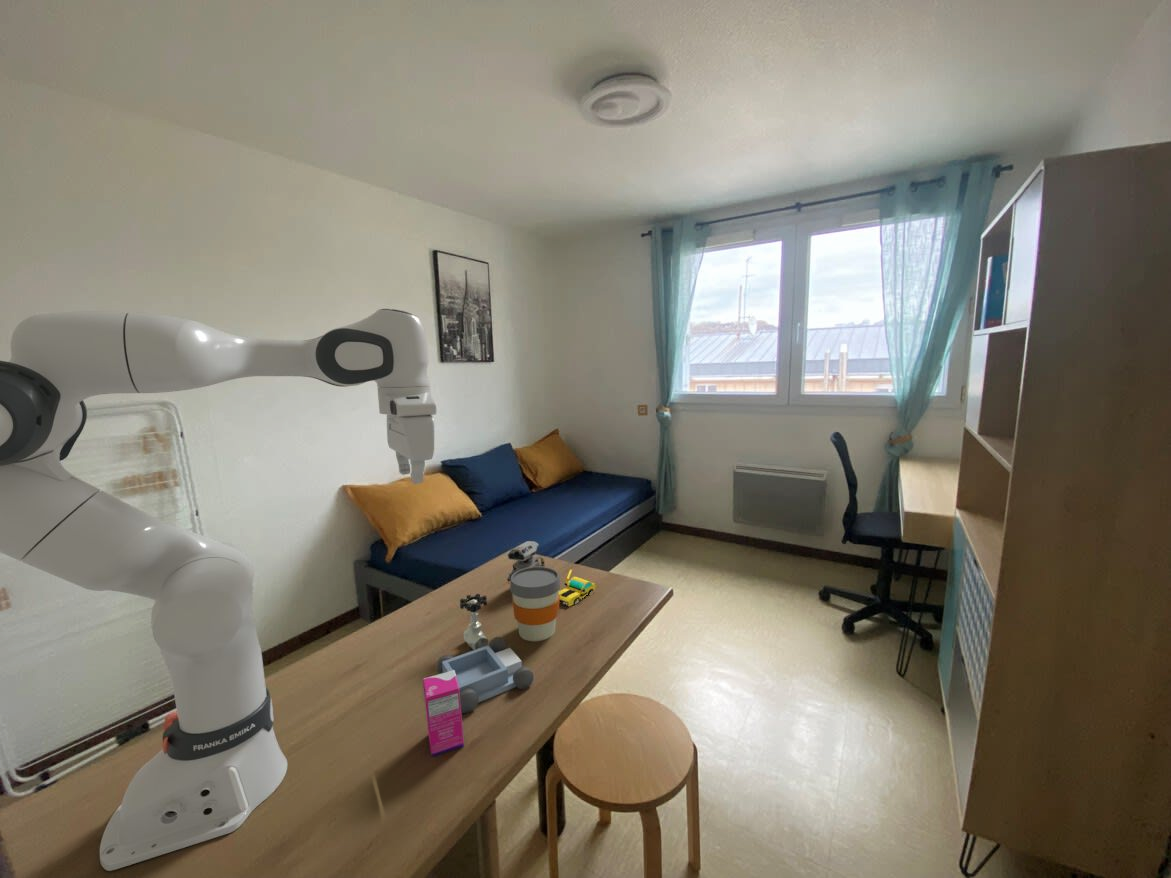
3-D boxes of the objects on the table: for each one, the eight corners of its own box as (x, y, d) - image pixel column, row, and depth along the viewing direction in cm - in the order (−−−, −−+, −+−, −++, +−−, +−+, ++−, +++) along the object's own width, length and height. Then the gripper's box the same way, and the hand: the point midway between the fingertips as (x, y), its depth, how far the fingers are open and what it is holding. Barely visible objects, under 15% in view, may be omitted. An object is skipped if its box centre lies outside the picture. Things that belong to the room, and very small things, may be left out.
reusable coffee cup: (529, 615, 127) (527, 563, 124) (570, 625, 121) (569, 570, 119) (502, 639, 115) (499, 582, 113) (545, 651, 110) (543, 591, 108)
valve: (468, 658, 108) (465, 609, 106) (457, 645, 113) (454, 599, 112) (494, 648, 112) (492, 601, 110) (482, 636, 117) (480, 591, 115)
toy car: (578, 588, 142) (577, 562, 141) (598, 595, 137) (597, 568, 136) (551, 604, 133) (550, 576, 132) (571, 612, 128) (570, 583, 127)
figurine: (500, 595, 139) (498, 546, 137) (528, 581, 148) (526, 535, 145) (521, 604, 133) (519, 553, 131) (549, 589, 142) (548, 542, 140)
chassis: (459, 716, 90) (458, 696, 89) (436, 675, 102) (435, 657, 102) (533, 685, 98) (533, 666, 98) (504, 650, 111) (503, 633, 110)
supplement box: (426, 734, 85) (422, 677, 84) (460, 724, 88) (456, 668, 86) (429, 758, 80) (425, 697, 78) (464, 747, 82) (461, 687, 81)
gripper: (376, 401, 91) (381, 471, 93) (399, 406, 74) (405, 491, 76) (409, 400, 94) (414, 467, 96) (439, 404, 77) (444, 485, 79)
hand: (410, 478), depth 86 cm, fingers open, 8 cm apart
